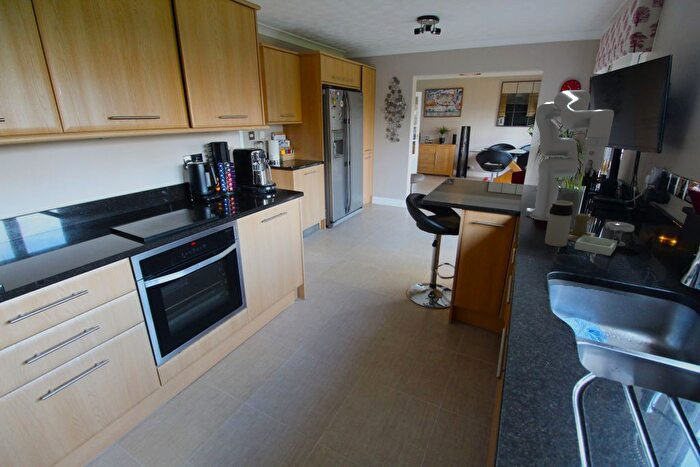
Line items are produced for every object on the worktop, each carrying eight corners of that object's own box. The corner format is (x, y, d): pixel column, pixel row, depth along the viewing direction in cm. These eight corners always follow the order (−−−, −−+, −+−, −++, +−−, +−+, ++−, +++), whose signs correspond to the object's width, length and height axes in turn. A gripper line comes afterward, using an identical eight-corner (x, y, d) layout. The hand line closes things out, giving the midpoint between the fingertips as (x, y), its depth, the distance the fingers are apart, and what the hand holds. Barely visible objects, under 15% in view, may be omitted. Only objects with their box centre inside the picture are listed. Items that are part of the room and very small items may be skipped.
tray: (574, 248, 133) (575, 241, 132) (581, 241, 140) (583, 234, 139) (610, 255, 125) (611, 248, 124) (615, 247, 132) (617, 240, 131)
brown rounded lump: (581, 236, 147) (586, 212, 144) (589, 240, 141) (594, 215, 138) (567, 236, 148) (571, 212, 144) (574, 240, 142) (579, 216, 139)
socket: (561, 238, 145) (562, 234, 144) (568, 233, 151) (569, 229, 151) (589, 243, 138) (590, 239, 137) (594, 238, 144) (595, 233, 144)
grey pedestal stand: (600, 244, 136) (604, 224, 134) (604, 239, 142) (608, 220, 140) (627, 249, 130) (632, 228, 128) (631, 243, 136) (636, 223, 134)
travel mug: (569, 247, 134) (577, 204, 129) (548, 246, 136) (555, 204, 130) (562, 241, 142) (569, 200, 136) (541, 240, 143) (548, 200, 138)
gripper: (603, 143, 124) (595, 188, 129) (612, 141, 135) (604, 183, 140) (580, 143, 129) (572, 186, 134) (590, 141, 141) (583, 181, 146)
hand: (588, 184), depth 137 cm, fingers open, 9 cm apart
